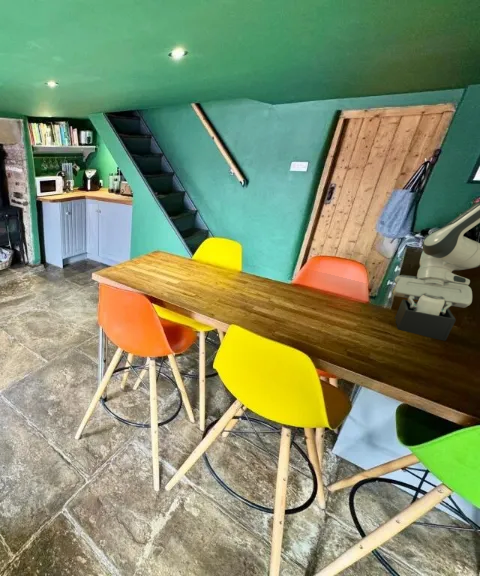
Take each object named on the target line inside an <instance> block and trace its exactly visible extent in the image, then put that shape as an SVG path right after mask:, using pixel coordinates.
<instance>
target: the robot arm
mask: <svg viewBox="0 0 480 576" xmlns="http://www.w3.org/2000/svg"><path fill="white" fill-rule="evenodd" d="M479 224H480V200H479V201H478V202H476V203H475V204H473V205H472V206H471V207H469V208H468V209H466V210H464V211H463V212H462V213H460V214H459V215H457V216H456V217H455V218H453V219H452V220H451V221H449V222H448V223H447V224H445V225H444V226H442V227H440V228H439V229H436V230H435V231H433V232H431V233H430V234H428V235H427V236H426V237H425V238H424V239H423V242H422V252H421V255H420V259H419V268H418V270H417V274H416V276H414V275H406V274H401V275H397V276H395V278H394V283H395V285H394V288H393V290H392V294H393V295H394V296H395V297H398V298H404V299H407V300H408V302H409V303H410V308H411V309H416V308H417V304H416V303H414V302H415V301H414V300H417V301H418V300H419V298H420V297H421V296H422V295H423V294H424V293H427V295H433V296H437V297H440V296H442V297H444V298H445V299H444V301H445V303H444V306H443V307H445V308H442V310H441V311H440V314H443V315H444V314H445V312H446V309H448V308H449V309H450V307H457V308H463V309H464V308H467V307H468V306H470V305H471V304H472V302H473V291H472V288H471V287H470V286H469V285H470V283H471V280H470V278H467V277H464V276H460V275H457V274H456V273H453V271H465V270H471V269H475V268H476V269H477V268H478V267H480V242H478V241H477V240H476V241H475V240H473V239H471V238H468V237H467V236H464V235H465V234H466V233H467V232H469V230H471V229H473V228H475V226H477V225H479Z"/></svg>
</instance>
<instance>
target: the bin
mask: <svg viewBox="0 0 480 576" xmlns="http://www.w3.org/2000/svg"><path fill="white" fill-rule="evenodd" d="M414 303H416V304H417V303H418V301H414ZM443 308H445V307H444V306H443ZM395 319H396V321H395V324H397V325H396V328H397V330H398V331H402V332H406V333H410V334H415V335H418V336H423V337H426V338H431V339H435V340H439V341H444V342H446V341H447V339H448V337H449V335H450V332H451V331H452V329H453V327H454V325H455V323H456V320H457V319H456V318H455V316H454V314H453V313H452V311H451V310H450V307H449V308H448V309H446V312H445V314H444V315H443V314H439V316H438V315H432V314H427V313H422V312H417V311H414V309H411V308H410V303H409V302H408V299H401V302H400V304H399V307H398V309H397V311H396V314H395V317H394V320H395Z"/></svg>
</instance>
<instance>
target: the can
mask: <svg viewBox="0 0 480 576" xmlns="http://www.w3.org/2000/svg"><path fill="white" fill-rule="evenodd" d="M444 299H445V298H444V297H442V296H440V297H437V296H433V295H427V293H424V294H423V295H422V296H421V297H420V298H419V300H417V302H418V303H417V308H416V309H414V311H417V312H422V313H427V314H432V315H438V316H439V314H440V311H441V310H442V308H443V307H444V303H445V301H444Z"/></svg>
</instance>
